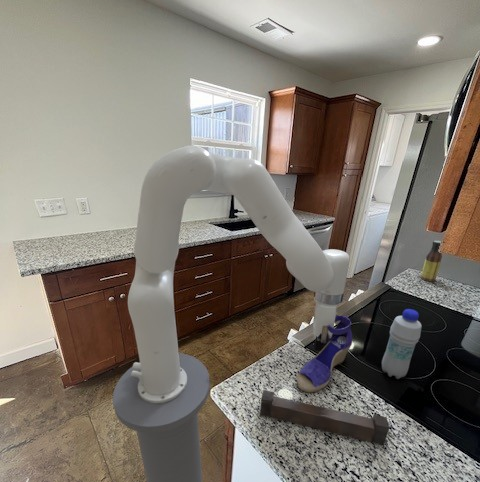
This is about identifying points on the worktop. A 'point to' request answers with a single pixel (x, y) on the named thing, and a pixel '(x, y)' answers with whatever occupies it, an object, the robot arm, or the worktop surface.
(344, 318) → the sandal
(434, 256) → the sauce bottle
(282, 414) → the rail
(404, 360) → the bottle
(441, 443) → the worktop surface
